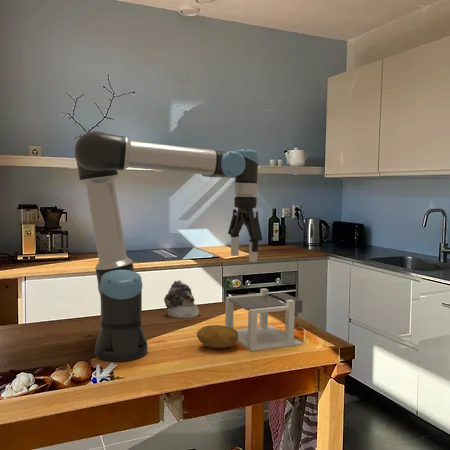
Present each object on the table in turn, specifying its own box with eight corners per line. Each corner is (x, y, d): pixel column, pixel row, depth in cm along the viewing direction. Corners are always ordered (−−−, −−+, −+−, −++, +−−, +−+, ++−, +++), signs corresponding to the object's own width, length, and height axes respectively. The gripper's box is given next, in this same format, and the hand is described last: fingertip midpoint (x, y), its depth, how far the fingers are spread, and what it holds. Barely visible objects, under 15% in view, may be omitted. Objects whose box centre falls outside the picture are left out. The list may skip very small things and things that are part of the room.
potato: (238, 353, 141) (238, 330, 140) (195, 352, 141) (195, 329, 141) (238, 343, 150) (239, 321, 149) (198, 342, 150) (198, 320, 150)
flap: (247, 319, 144) (248, 306, 144) (228, 308, 157) (228, 296, 157) (304, 313, 152) (304, 301, 152) (281, 303, 165) (281, 291, 165)
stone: (203, 316, 184) (204, 287, 176) (189, 332, 177) (189, 302, 169) (174, 303, 190) (173, 274, 182) (159, 318, 183) (157, 289, 174)
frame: (251, 351, 142) (252, 305, 141) (224, 332, 161) (225, 291, 159) (302, 344, 149) (304, 300, 148) (271, 326, 168) (272, 287, 167)
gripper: (274, 197, 151) (271, 263, 153) (238, 195, 174) (236, 253, 175) (253, 197, 148) (251, 264, 150) (220, 194, 170) (218, 253, 172)
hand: (243, 258), depth 162 cm, fingers open, 13 cm apart
